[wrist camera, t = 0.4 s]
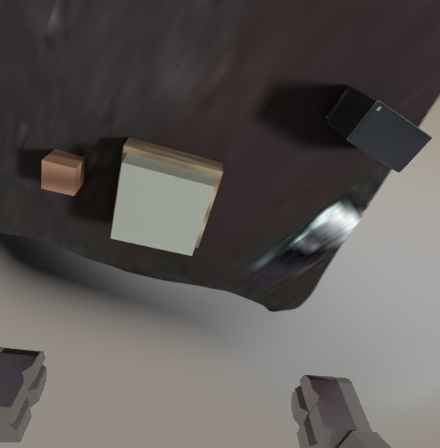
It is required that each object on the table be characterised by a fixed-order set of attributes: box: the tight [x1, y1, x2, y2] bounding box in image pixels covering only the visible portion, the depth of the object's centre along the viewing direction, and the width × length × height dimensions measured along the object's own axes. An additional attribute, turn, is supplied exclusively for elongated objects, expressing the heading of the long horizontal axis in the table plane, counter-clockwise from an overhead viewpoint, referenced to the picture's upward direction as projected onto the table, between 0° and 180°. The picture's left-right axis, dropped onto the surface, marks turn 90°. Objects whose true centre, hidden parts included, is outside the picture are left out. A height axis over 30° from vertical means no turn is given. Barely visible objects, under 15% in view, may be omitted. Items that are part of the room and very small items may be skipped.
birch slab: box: [112, 138, 223, 248], centre depth 56 cm, size 16×16×4 cm
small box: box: [324, 85, 432, 172], centre depth 47 cm, size 11×6×10 cm, turn 61°
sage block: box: [111, 153, 215, 256], centre depth 52 cm, size 14×14×4 cm
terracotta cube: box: [41, 149, 86, 196], centre depth 52 cm, size 5×5×5 cm
